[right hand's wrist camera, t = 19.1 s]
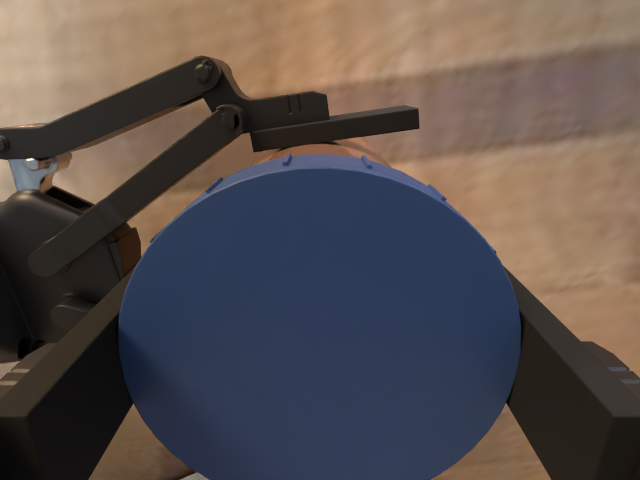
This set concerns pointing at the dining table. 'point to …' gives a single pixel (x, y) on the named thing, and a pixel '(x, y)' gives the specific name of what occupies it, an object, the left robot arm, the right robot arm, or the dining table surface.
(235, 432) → the lid
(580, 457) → the right robot arm
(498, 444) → the dining table surface
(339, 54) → the dining table surface
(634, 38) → the dining table surface
